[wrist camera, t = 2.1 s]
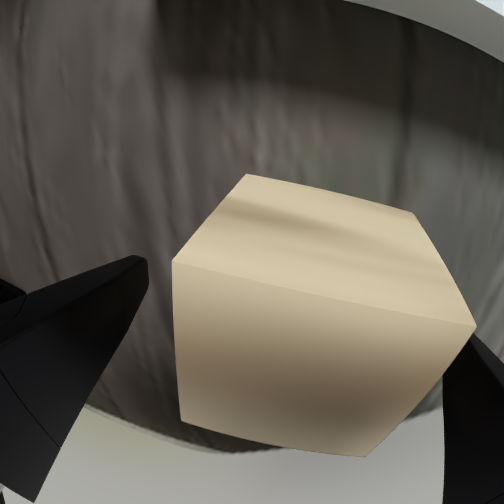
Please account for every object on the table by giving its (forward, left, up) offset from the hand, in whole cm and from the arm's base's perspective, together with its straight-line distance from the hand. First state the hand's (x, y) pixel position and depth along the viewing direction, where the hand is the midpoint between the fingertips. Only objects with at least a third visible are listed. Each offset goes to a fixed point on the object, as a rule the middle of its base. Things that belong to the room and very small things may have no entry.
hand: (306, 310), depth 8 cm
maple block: (0, 0, -2) cm, 2 cm away
